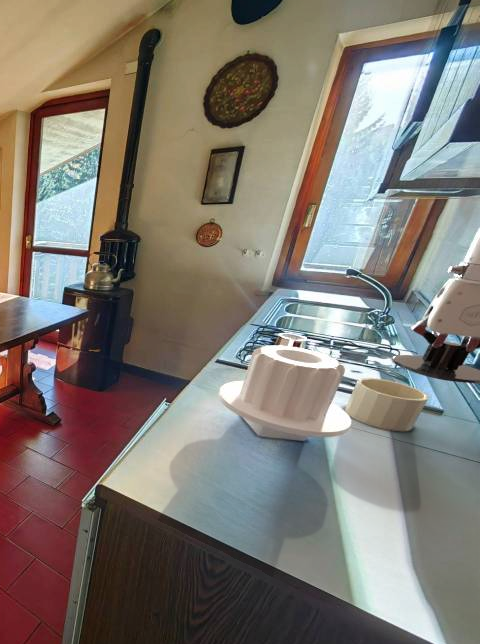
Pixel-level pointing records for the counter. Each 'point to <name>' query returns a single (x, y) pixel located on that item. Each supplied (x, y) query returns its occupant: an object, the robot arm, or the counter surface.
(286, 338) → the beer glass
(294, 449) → the counter surface
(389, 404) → the faceted cream dish
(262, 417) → the ribbed cylinder on disc
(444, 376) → the lid
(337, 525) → the counter surface
